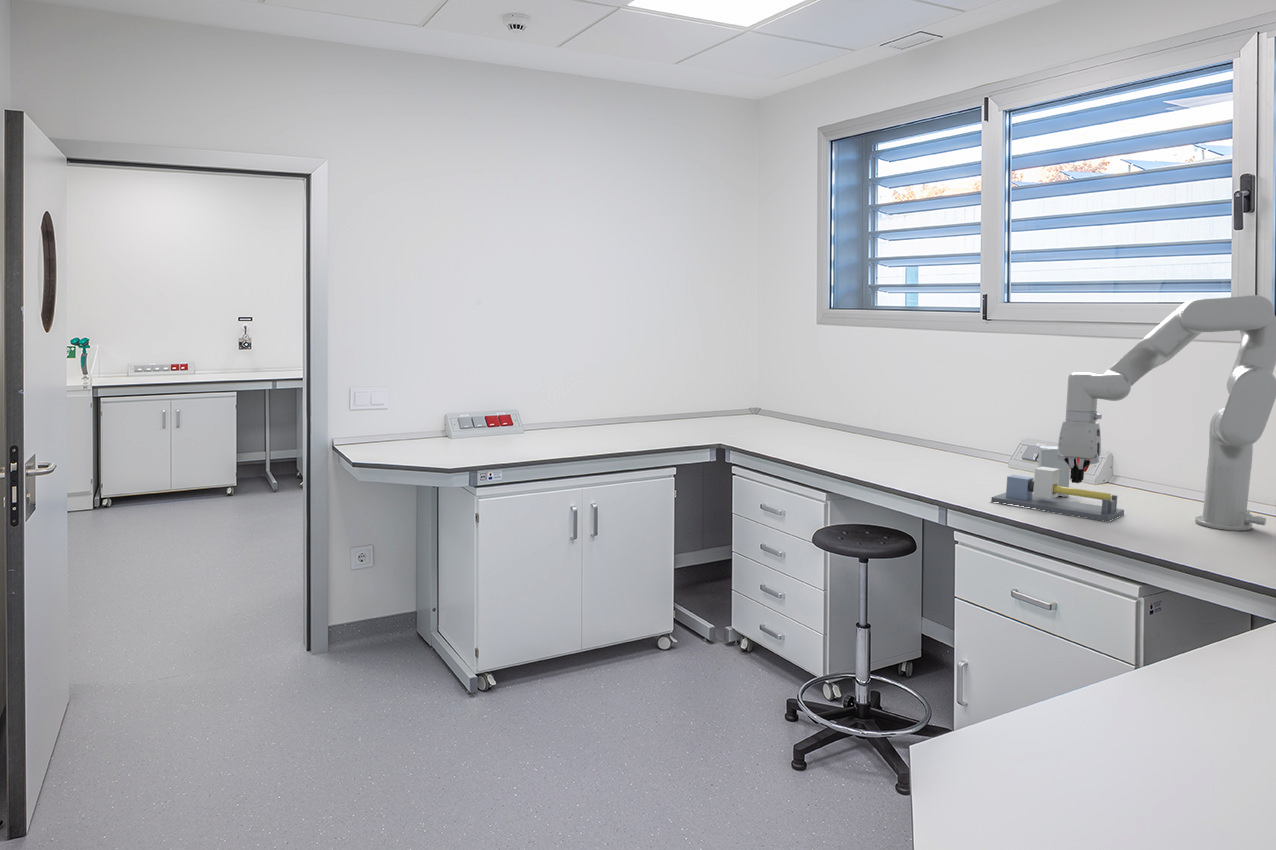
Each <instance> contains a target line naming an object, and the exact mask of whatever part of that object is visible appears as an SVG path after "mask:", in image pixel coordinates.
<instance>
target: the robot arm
mask: <svg viewBox="0 0 1276 850" xmlns="http://www.w3.org/2000/svg"><path fill="white" fill-rule="evenodd" d="M1234 331H1239V333H1240V345H1239V348H1238V352H1237V355H1236V358H1235V361H1234V363H1233V366H1232V368H1231V372H1230V374H1229V376H1228V379H1227V380H1226V381H1227V382H1226V389H1227V392H1228V394H1229V395H1228V399H1227V401H1226V404H1225V406H1224V407H1222V408H1219V409H1218V410H1217V411H1216V412H1215V413H1214V414H1213V415H1212V417H1211V419H1210V423H1209V437H1208V438H1209V445H1208V446H1209V448H1208V460H1207V468H1206V469H1207V470H1206V476H1205V477H1206V479H1205V488H1204V489H1205V490H1204V497H1203V498H1204V499H1203V510H1202V515H1198V516H1196V517H1195V520H1194V522H1195V524H1196V523H1197V524H1198V525H1201V526H1204V527H1207V528H1212V529H1217V530H1225V531H1240V532H1243V531H1250V530H1252V529H1253V524H1256V525H1261V526H1266V524H1267V518H1266V517H1263V516H1259V515H1253V514H1251V510H1250V509H1248V502H1249V492H1250V484H1251V483H1250V482H1251V474H1252V473H1251V472H1252V466H1253V465H1252V464H1253V451H1254V450H1253V449H1254V447H1253V445H1254V444H1256V443H1257V442H1258V441H1259V440H1260V438H1261V437H1262V435H1263V433H1264V431H1265V428H1266V426H1267V423H1268V421H1269V418H1270V415H1271V413H1272V410H1273V407H1274V403H1275V402H1276V377H1275V375H1274V374H1273V373H1274V370H1275V367H1276V315H1275V307H1274V304H1273V303H1272V302H1271V300H1269V298H1266V296H1263V295H1259V294H1258V295H1256V294H1253V295H1251V294H1248V295H1242V296H1231V297H1219V298H1218V297H1217V298H1193V299H1190V300H1187V301H1185V302H1184V303H1182V304H1181V305H1180V306H1178V307H1177V308H1176V310H1174V311H1173V312H1172V313H1171V314H1169V315H1168V316H1167V317H1166V318H1165V319H1164V320H1162V321H1161V322H1160V324H1159V323H1158V325H1157V326H1156V327H1154V328H1153V329H1152V330H1151V331H1150V332H1149V333H1148V334H1147V335H1145V337H1143V338H1142V339H1141V340H1139V342H1138V343H1137V344H1135V346H1134V347H1132V348H1131V349H1130V350H1129V351H1128V352H1127V353H1126V354H1124V355H1123V356H1122V357H1121V358H1119V360H1117V361H1116V362H1115V363H1114V364H1112V366H1110V367H1109V368H1108V369H1107V370H1106V371H1105V372H1103V374H1097V373H1095V372H1086V371H1084V372H1082V371H1080V372H1078V371H1075V372H1071V373H1070V374H1069V375H1068V378H1067V392H1066V404H1065V405H1066V410H1065V420H1063V421H1062V424H1061V428H1060V431H1059V438H1058V443H1057V445H1058V453H1059V454H1058V457H1057V458H1058V459H1060V460H1063V461H1065V462H1066V463H1067V464H1068V465H1069V467H1070V474H1069V480H1071V483H1075V484H1080V483H1082V481H1084V477H1085V469H1086V468H1087V467H1088V466H1089V465H1095V464H1099V463H1100V456H1101V453H1102V440H1101V439H1102V438H1101V427H1100V422H1097V421H1098V420H1101V419H1102V418H1103V417H1102V414H1099V413H1098V411H1097V410H1098V409H1097V408H1098V406H1097V405H1098V400H1099V399H1100V400H1104V401H1112V402H1116V401H1117V402H1118V401H1122V400H1124V399H1125V398H1126V397H1128V395H1129V394H1130V392H1131V387H1132V386H1134V384H1136V383H1137V382H1138V381H1139V380H1140V379H1142V378H1143V377H1145V376H1146V374H1148V373H1149V372H1151V371H1152V370H1154V369H1156V368H1158V367H1159V366H1162V365H1164V364H1166V363H1167V362H1169V361H1170V360H1171V359H1173V358H1174V357H1175V356H1177V354H1178V353H1180V352H1181V351H1182V350H1183V349H1184V348H1185V347H1186V346H1188V345H1189V344H1190V343H1192V341H1194V339H1197V337H1198V336H1199V335H1201V334H1202V333H1220V332H1234ZM1078 459H1079V461H1078Z"/></svg>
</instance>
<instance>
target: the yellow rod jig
mask: <svg viewBox="0 0 1276 850" xmlns="http://www.w3.org/2000/svg"><path fill="white" fill-rule="evenodd" d="M1033 490H1034V477H1030V476H1024V475H1016V474H1010V475H1008V476H1006V490H1005V492H1002V493H1000V494H997V495H994V496H991V499H990V500H991V501H990V502H991V503H993V502H999V503H1006V504H1013V505H1019V506H1024V507H1030V508H1036V509H1040V510H1045V511H1044V512H1046V511H1049V512H1048V513H1052V512H1055V513H1054V514H1058V513H1062V514H1061V515H1064V514H1067V515H1066V516H1070V515H1074V516H1073V517H1076V516H1080V517H1079V518H1082V517H1087V518H1086V519H1088V518H1093V519H1092V520H1094V519H1099V520H1098V521H1100V520H1104V521H1103V522H1106V521H1110V520H1112V519H1114V520H1116V519H1118V518H1120V517H1122V516H1121V515H1123V516H1124V515H1125V509H1122V508H1118V505H1117V504H1118V495H1115V494H1111V493H1109V492H1100V491H1095V490H1089V489H1088V490H1087V489H1081V488H1074V487H1069V488H1068V487H1061V486H1055V485H1053V492H1054V493H1060V494H1067V495H1068V496H1074V497H1081V498H1088V499H1092V500H1093V499H1094V500H1099V501H1102V502H1101V505H1097V504H1090V503H1085V502H1078V501H1071V500H1066V499H1059V498H1052V499H1048V498H1041V497H1035V496H1033ZM999 503H998V504H999ZM1040 510H1039V511H1040ZM1119 516H1120V517H1119ZM1117 517H1118V518H1117ZM1115 518H1116V519H1115ZM1112 521H1113V520H1112ZM1110 522H1111V521H1110Z"/></svg>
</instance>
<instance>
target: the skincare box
mask: <svg viewBox="0 0 1276 850" xmlns="http://www.w3.org/2000/svg"><path fill="white" fill-rule="evenodd" d="M1058 454H1059V453H1058V446H1057V445H1054V446H1052V445H1047V446H1046V445H1039V446H1038V456H1037V457H1038V458H1037V459H1038V461H1037V462H1038V463H1037V468H1039V467H1049V468H1056V469H1060V475H1059V486H1061V487H1068V488H1070V474H1071V468H1070V467H1069V465H1068V464H1067V463H1066V462H1065V461H1063V460H1060V459H1058V458H1057V457H1058ZM1059 496H1062V498H1064V497H1065V498H1069V495H1067V494H1060V493H1058V497H1059Z"/></svg>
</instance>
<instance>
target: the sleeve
mask: <svg viewBox="0 0 1276 850" xmlns="http://www.w3.org/2000/svg"><path fill="white" fill-rule="evenodd" d="M1059 475H1060V469H1056V468H1049V467H1039V468H1038V467H1036V468H1034V477H1033V478H1034V490H1033V494H1032V495H1033V496H1035V497H1041V498H1048V499H1052V498H1054V499H1056V498H1058V497H1059V496H1058V493H1054V492H1053V485H1055V486H1059Z"/></svg>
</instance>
